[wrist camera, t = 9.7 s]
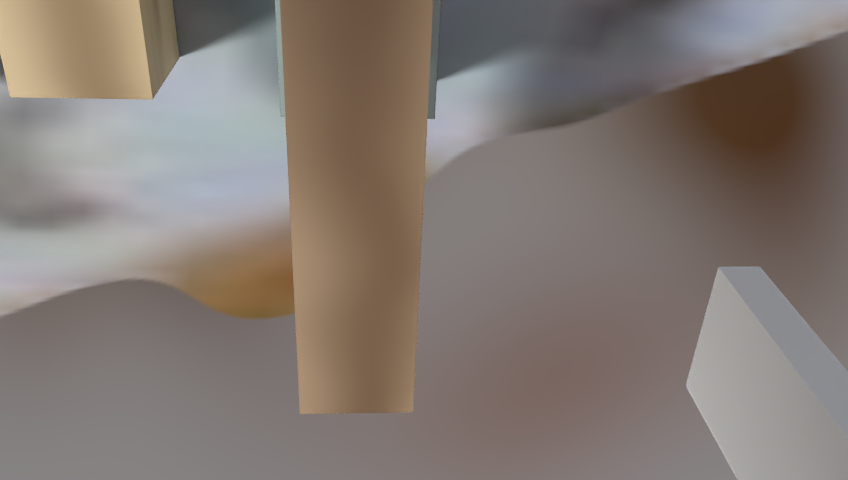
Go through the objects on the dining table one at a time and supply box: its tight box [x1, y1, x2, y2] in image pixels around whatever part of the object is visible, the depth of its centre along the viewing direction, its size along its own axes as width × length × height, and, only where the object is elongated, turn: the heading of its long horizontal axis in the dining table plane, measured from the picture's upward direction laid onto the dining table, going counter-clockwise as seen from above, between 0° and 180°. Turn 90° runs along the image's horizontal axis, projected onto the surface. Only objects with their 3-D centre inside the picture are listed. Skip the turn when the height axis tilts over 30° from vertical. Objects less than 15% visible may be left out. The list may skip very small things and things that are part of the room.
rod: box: [280, 0, 433, 414], centre depth 24 cm, size 4×22×4 cm, turn 178°
